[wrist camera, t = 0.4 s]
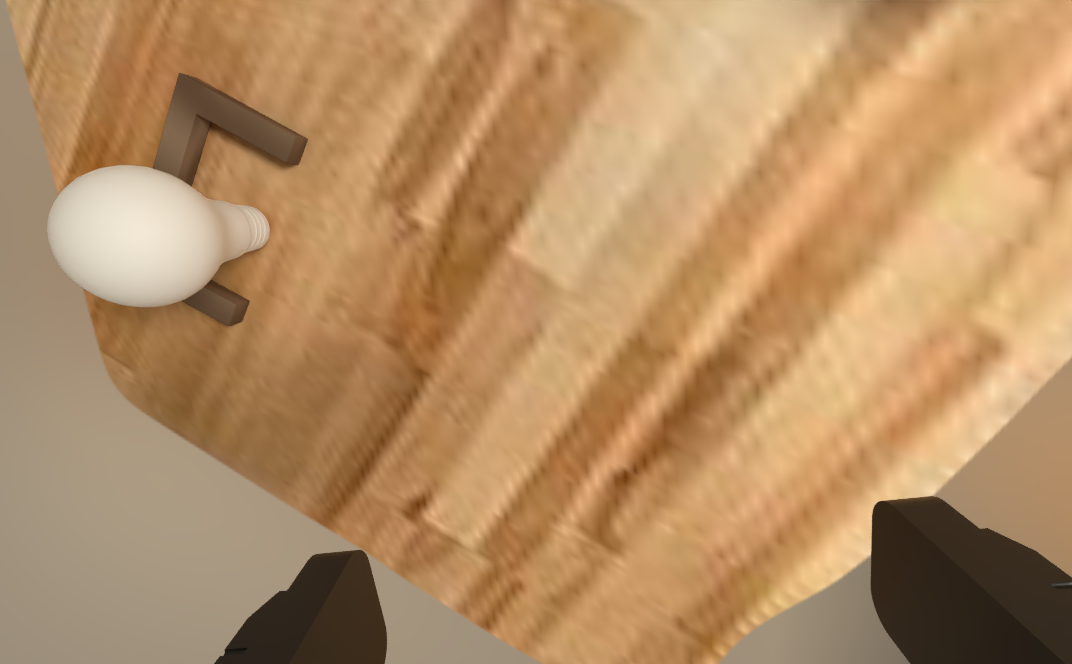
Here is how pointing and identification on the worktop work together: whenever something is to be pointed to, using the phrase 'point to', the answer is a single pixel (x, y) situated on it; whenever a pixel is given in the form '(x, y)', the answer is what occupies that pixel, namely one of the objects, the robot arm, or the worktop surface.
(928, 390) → the worktop surface
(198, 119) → the walnut holder
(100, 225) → the lightbulb
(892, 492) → the worktop surface
